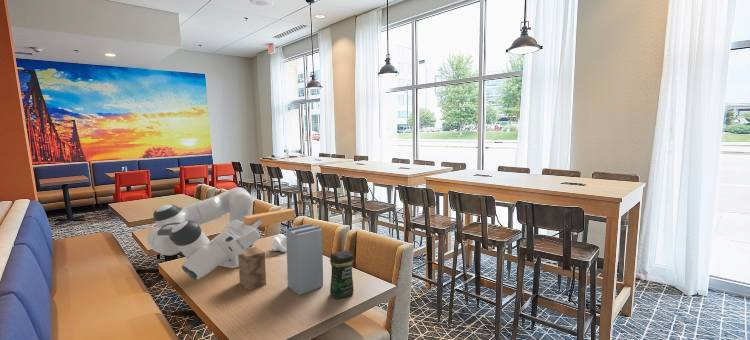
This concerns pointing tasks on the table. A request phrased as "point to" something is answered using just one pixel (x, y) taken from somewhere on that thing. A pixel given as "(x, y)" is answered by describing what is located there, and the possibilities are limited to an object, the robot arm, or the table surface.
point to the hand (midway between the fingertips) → (257, 219)
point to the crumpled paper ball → (279, 243)
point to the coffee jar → (341, 274)
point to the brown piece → (252, 268)
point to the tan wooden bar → (271, 217)
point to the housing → (304, 258)
